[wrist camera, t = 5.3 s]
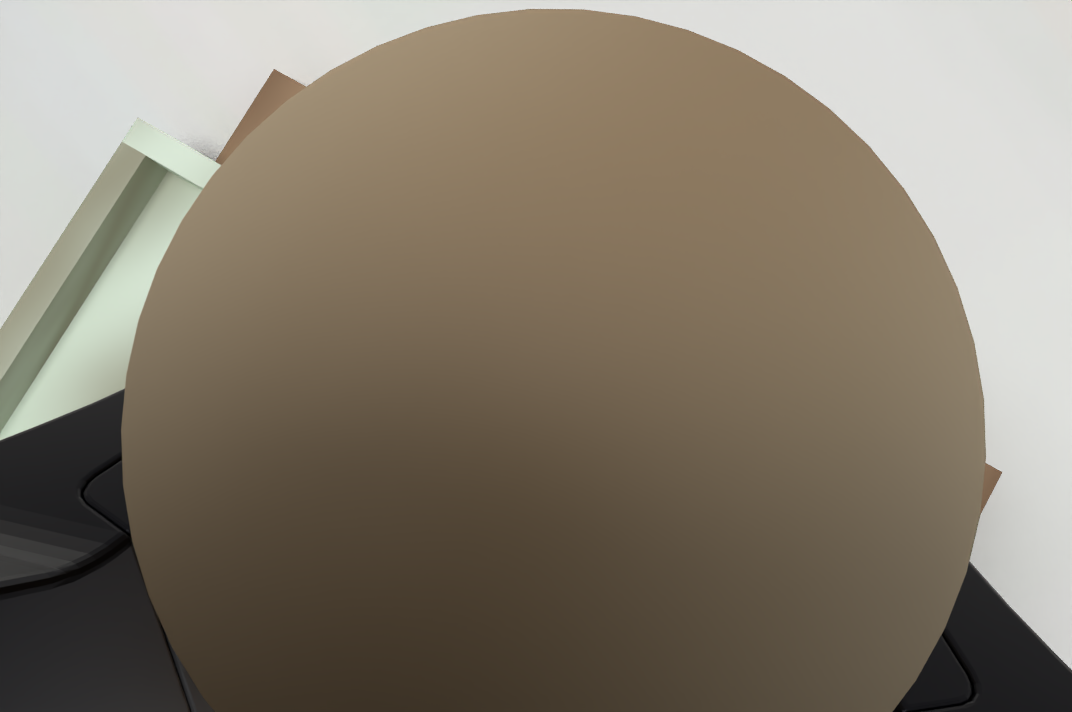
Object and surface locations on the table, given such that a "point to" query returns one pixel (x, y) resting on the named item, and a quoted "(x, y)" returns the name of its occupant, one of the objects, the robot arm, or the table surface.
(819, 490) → the dowel
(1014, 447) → the table surface
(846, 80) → the table surface
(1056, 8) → the table surface
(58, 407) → the stand
